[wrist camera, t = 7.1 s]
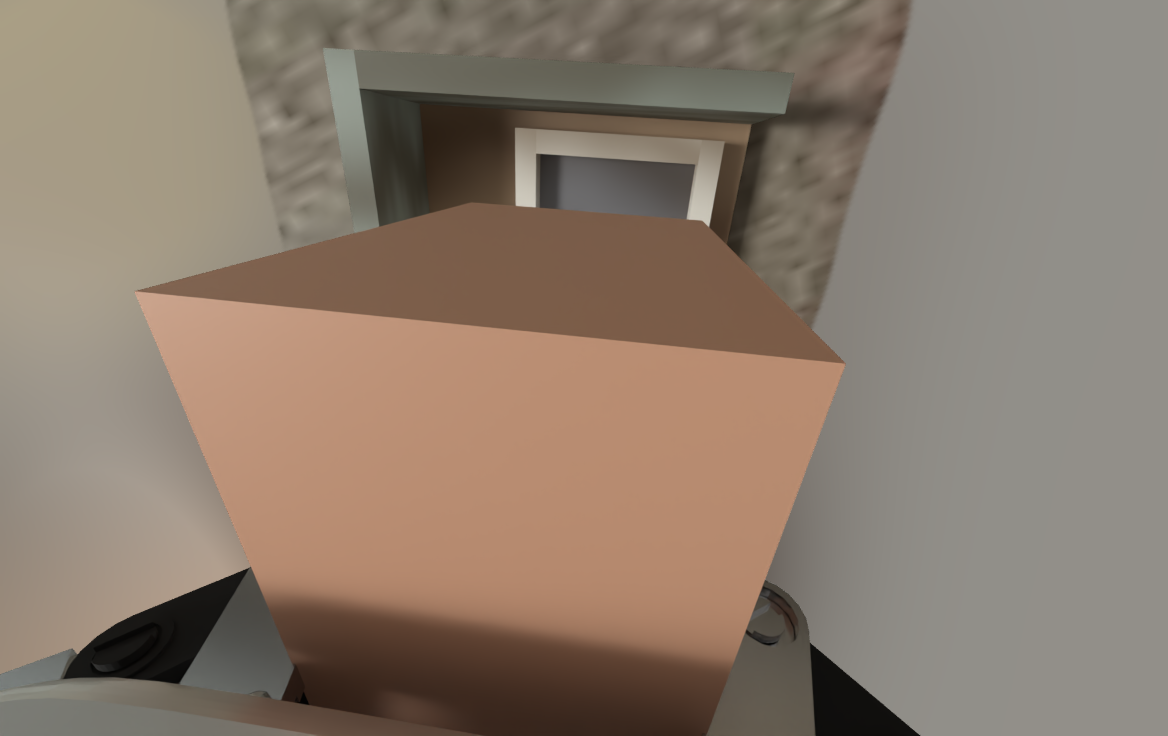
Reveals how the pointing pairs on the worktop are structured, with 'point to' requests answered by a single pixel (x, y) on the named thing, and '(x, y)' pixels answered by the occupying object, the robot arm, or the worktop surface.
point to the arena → (543, 134)
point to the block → (504, 460)
